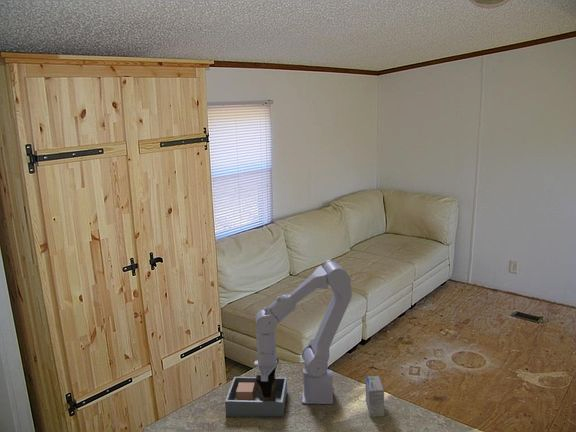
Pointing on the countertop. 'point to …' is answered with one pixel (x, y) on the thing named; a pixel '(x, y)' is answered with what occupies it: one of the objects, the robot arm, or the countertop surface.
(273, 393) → the walnut cylinder
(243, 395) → the terracotta cube
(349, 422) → the countertop surface
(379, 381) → the medicine box
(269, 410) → the slate tote
